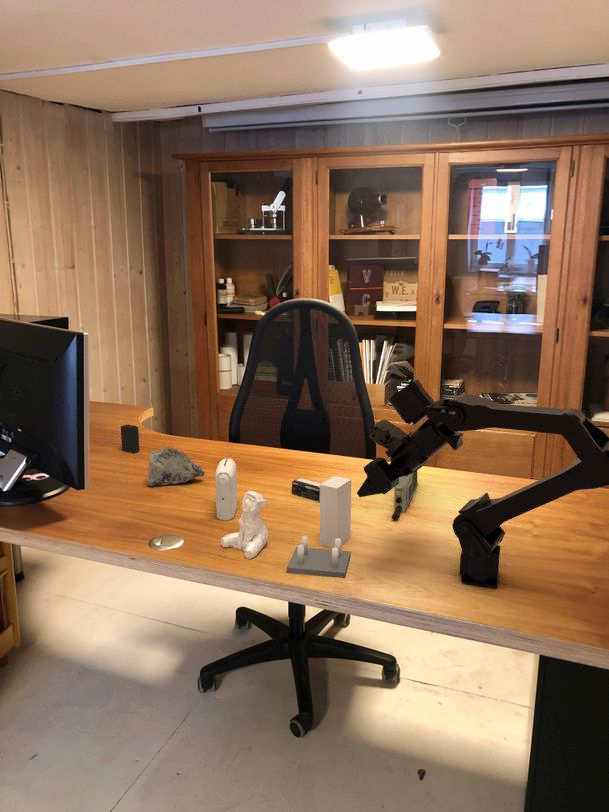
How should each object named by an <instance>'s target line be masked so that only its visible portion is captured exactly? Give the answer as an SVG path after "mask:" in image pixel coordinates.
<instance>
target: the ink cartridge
mask: <svg viewBox="0 0 609 812" xmlns="http://www.w3.org/2000/svg"><path fill="white" fill-rule="evenodd" d="M120 434H121V435H120V436H121V437H120V438H121V451H122V452H125V453H129V454H136V453H139V452H140V451H141V450H140V436H139V427H138V426H137V425H133V424H124V425H122V426H121V425H120Z"/></svg>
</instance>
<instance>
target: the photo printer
mask: <svg viewBox="0 0 609 812" xmlns="http://www.w3.org/2000/svg"><path fill="white" fill-rule="evenodd" d="M237 468H238V467H237V463H236V462H235V460H234V459H232V458H226V457H225V458H223V459H222V460H220V462H219V463H218V465H217V467H216V470H215V475H214V476H215V477H214V478H215V480H214V481H215V504H216V505H215V506H216V509H215V510H216V518H217V519H218V520H220V521H230V520H232V519H233V518H234V517H235V514H236V511H237V506H238V475H237Z"/></svg>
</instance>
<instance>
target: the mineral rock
mask: <svg viewBox="0 0 609 812" xmlns="http://www.w3.org/2000/svg"><path fill="white" fill-rule="evenodd" d="M148 460H149V461H148V468H147V469H148V472H147V474H148V481H147V482H148V486H150V487H151V486H152V487H153V486H161V485H162V486H166V485H170V484H173V485H174V484H175V485H176V484H181V483H187V482H188V481H193V480H194V479H196V478H199V477H204V476H205V473H206V472H205V471H204V470H202V469H203V467H202V466H201V465H199V464H197V463H194V462H193V461H192V460H191V458H190V457H189V456H188V455H187V454H186V453H185V452H183V451H180V450H179V449H176V448H174V447H171V446H169V445H168V446H166V447H164V448H162V449H161V450H157V449H154V450H151V451H150V456H149V459H148Z"/></svg>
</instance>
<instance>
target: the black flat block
mask: <svg viewBox="0 0 609 812" xmlns="http://www.w3.org/2000/svg"><path fill="white" fill-rule="evenodd" d="M322 483H323V482H322ZM322 483H321V482H318V481H314V480H310V479H307V478H302V477H299V478H295V479H294V480H292V481H291V495H294V496H297V497H300V498H303V499H307V500H311V501H315V502H317V503H320V484H322Z"/></svg>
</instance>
